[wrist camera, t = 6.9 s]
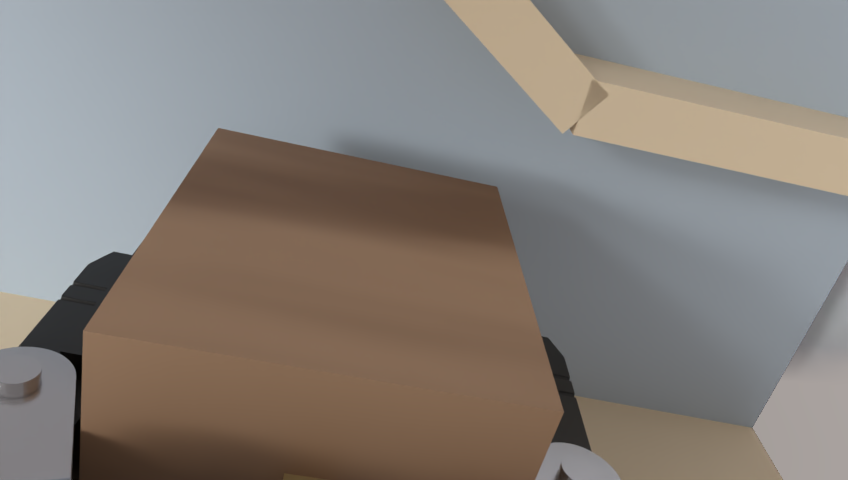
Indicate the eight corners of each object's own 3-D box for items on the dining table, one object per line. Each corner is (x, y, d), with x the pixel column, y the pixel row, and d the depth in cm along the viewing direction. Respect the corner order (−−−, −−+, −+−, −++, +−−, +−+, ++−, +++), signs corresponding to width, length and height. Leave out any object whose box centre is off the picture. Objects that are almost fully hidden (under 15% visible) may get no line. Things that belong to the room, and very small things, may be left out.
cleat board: (-209, -300, 12) (-484, -372, 9) (949, 0, 15) (1130, 46, 11) (-125, 289, 18) (-271, 402, 14) (711, 438, 20) (777, 569, 16)
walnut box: (217, 127, 12) (57, 369, 7) (496, 186, 13) (576, 452, 7) (192, 356, 15) (55, 689, 9) (431, 397, 15) (451, 728, 9)
